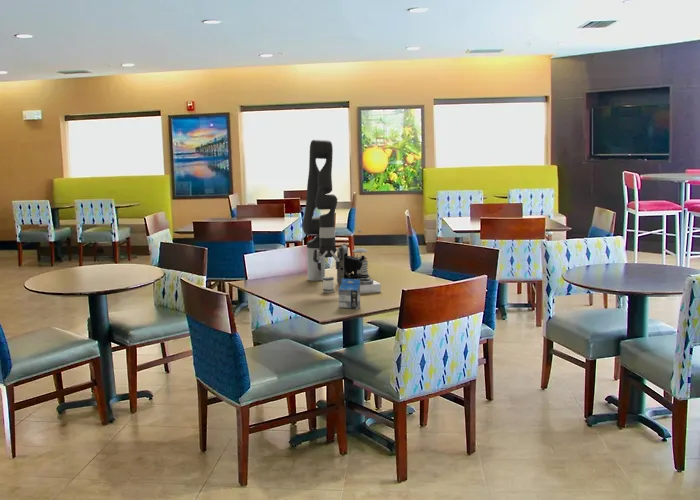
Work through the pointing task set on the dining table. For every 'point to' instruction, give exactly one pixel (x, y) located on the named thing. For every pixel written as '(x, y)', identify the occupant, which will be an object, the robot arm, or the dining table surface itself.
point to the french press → (365, 262)
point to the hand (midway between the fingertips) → (328, 269)
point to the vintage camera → (349, 266)
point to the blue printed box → (349, 294)
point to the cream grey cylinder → (328, 284)
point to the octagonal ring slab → (369, 286)
